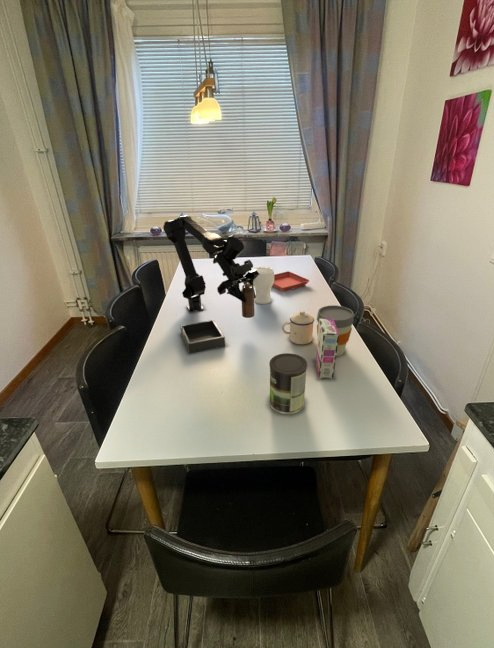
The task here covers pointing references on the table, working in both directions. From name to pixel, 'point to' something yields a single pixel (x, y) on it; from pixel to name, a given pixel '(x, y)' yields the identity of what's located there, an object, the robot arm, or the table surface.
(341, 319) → the reusable coffee cup
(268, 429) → the table surface
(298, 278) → the plant saucer
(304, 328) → the teacup with lid
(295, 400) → the coffee can
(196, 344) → the dark grey tray
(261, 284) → the white vase
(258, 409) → the table surface
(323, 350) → the candy bar box
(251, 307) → the pepper mill
